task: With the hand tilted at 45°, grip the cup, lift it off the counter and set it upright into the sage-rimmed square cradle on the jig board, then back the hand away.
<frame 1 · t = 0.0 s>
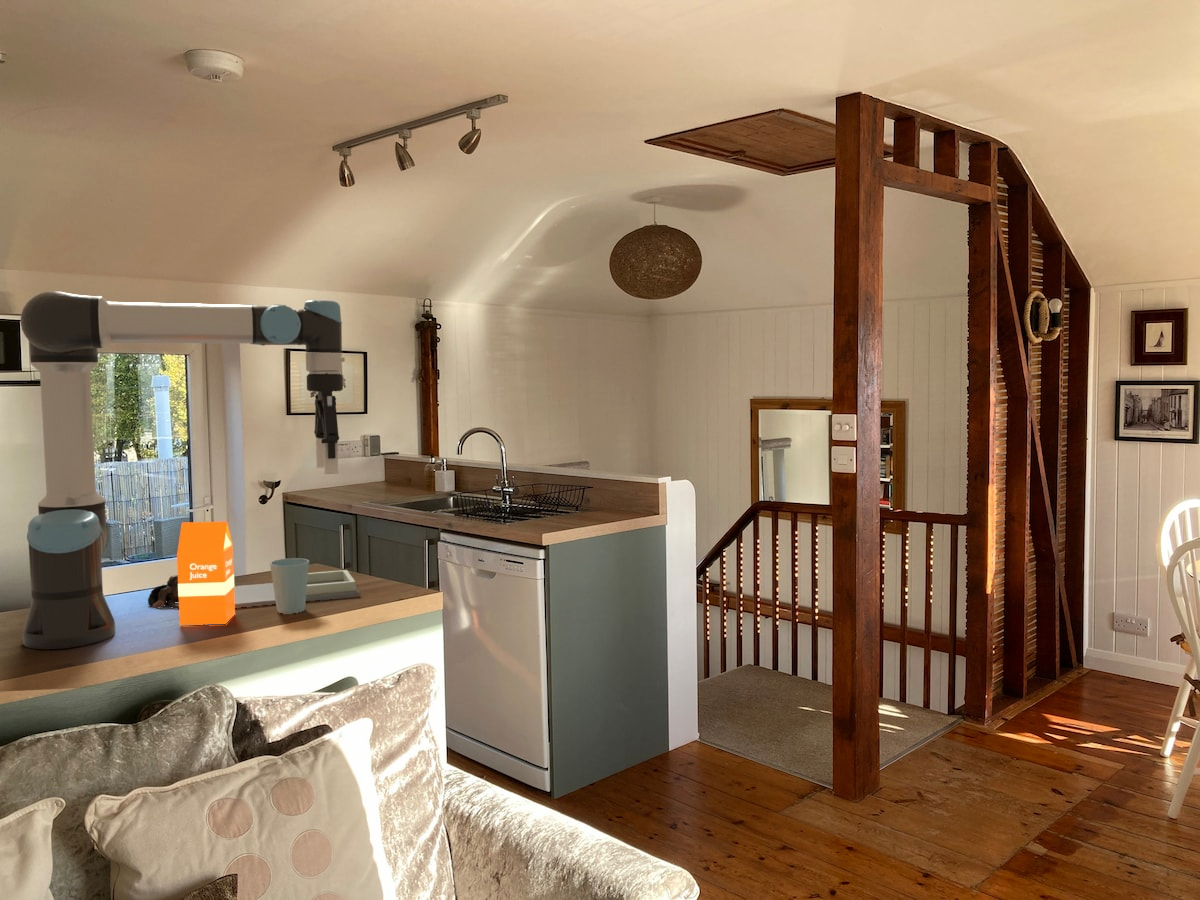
hand: (327, 470, 206), 28 cm above the counter, tool pointing down, fingers open, 13 cm apart
cup: (291, 611, 197), on the counter
jig board: (294, 593, 211), on the counter
orange juice: (208, 621, 190), on the counter
stuffed animal: (176, 604, 205), on the counter
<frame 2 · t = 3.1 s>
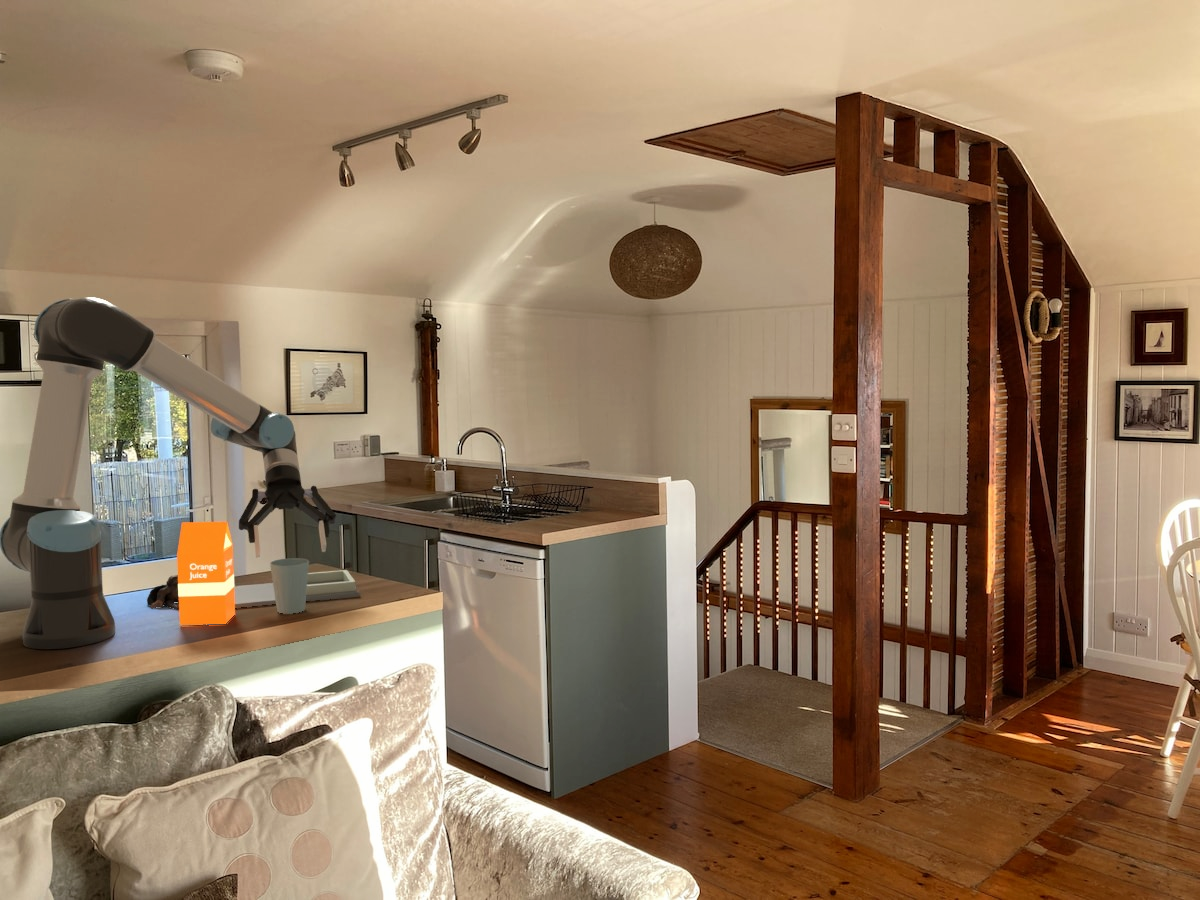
hand: (291, 551, 203), 11 cm above the counter, tool tilted 45°, fingers open, 13 cm apart
nothing on the counter moved.
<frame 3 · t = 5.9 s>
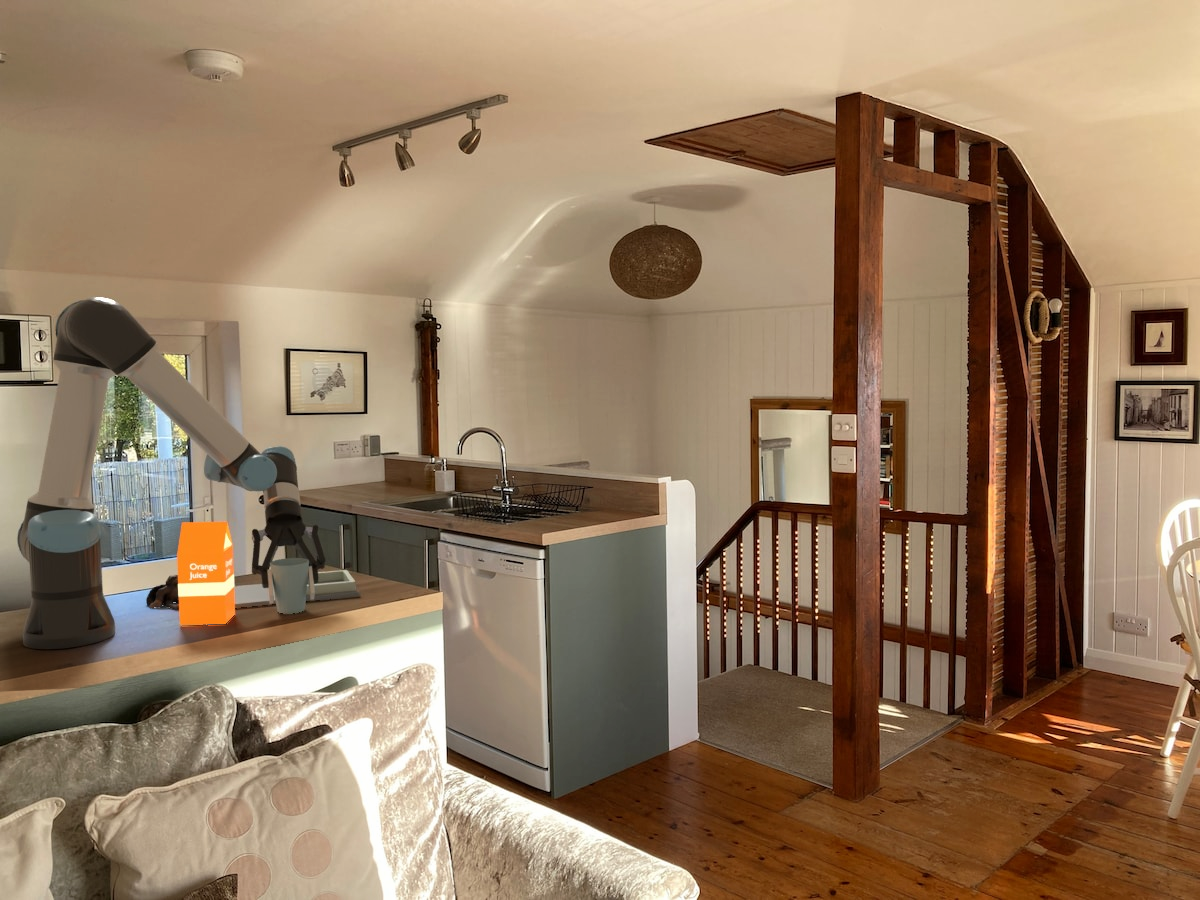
hand: (292, 597, 193), 4 cm above the counter, tool tilted 45°, fingers closed on cup, 7 cm apart
cup: (291, 611, 197), on the counter, touching gripper
everything else where it was.
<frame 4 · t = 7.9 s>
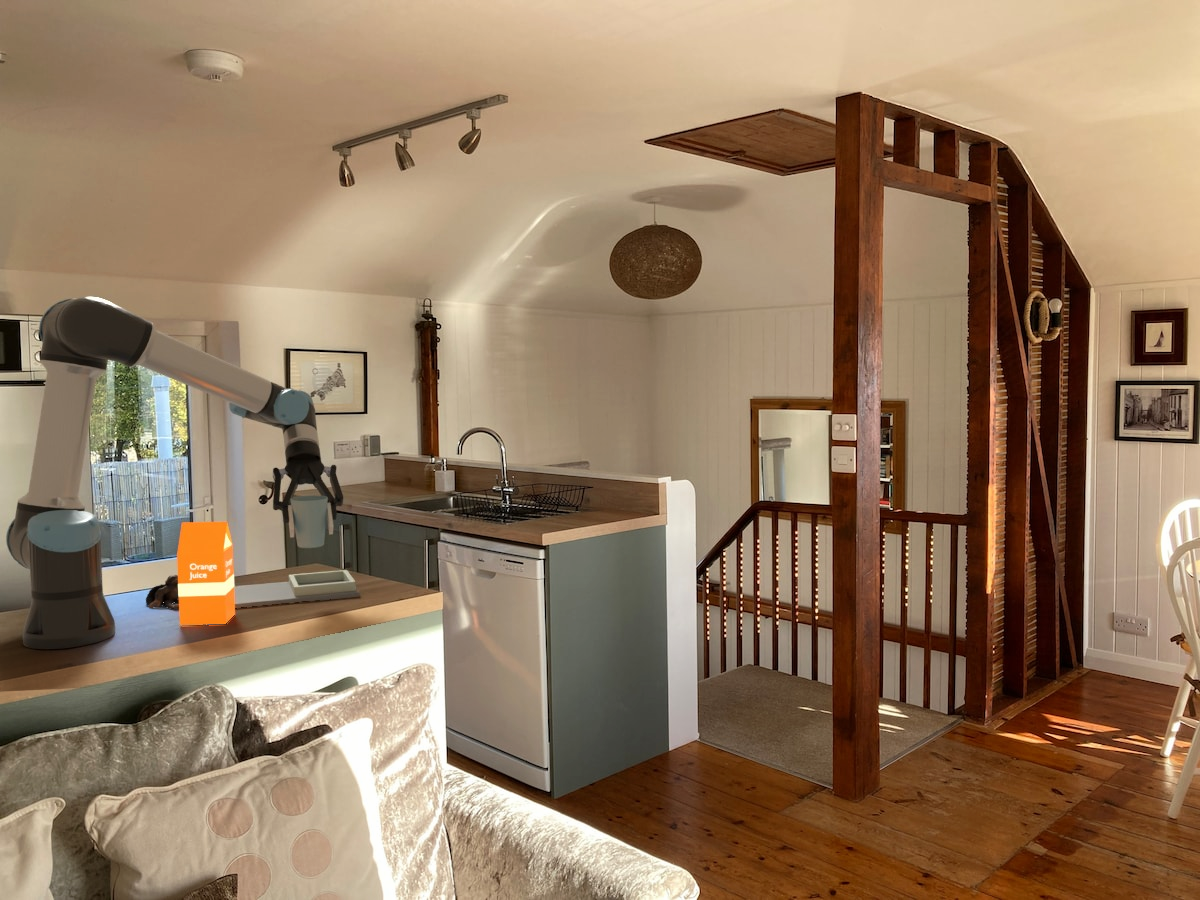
hand: (312, 532, 201), 16 cm above the counter, tool tilted 45°, fingers closed on cup, 7 cm apart
cup: (310, 546, 205), point 12 cm above the counter, touching gripper
everything else where it was.
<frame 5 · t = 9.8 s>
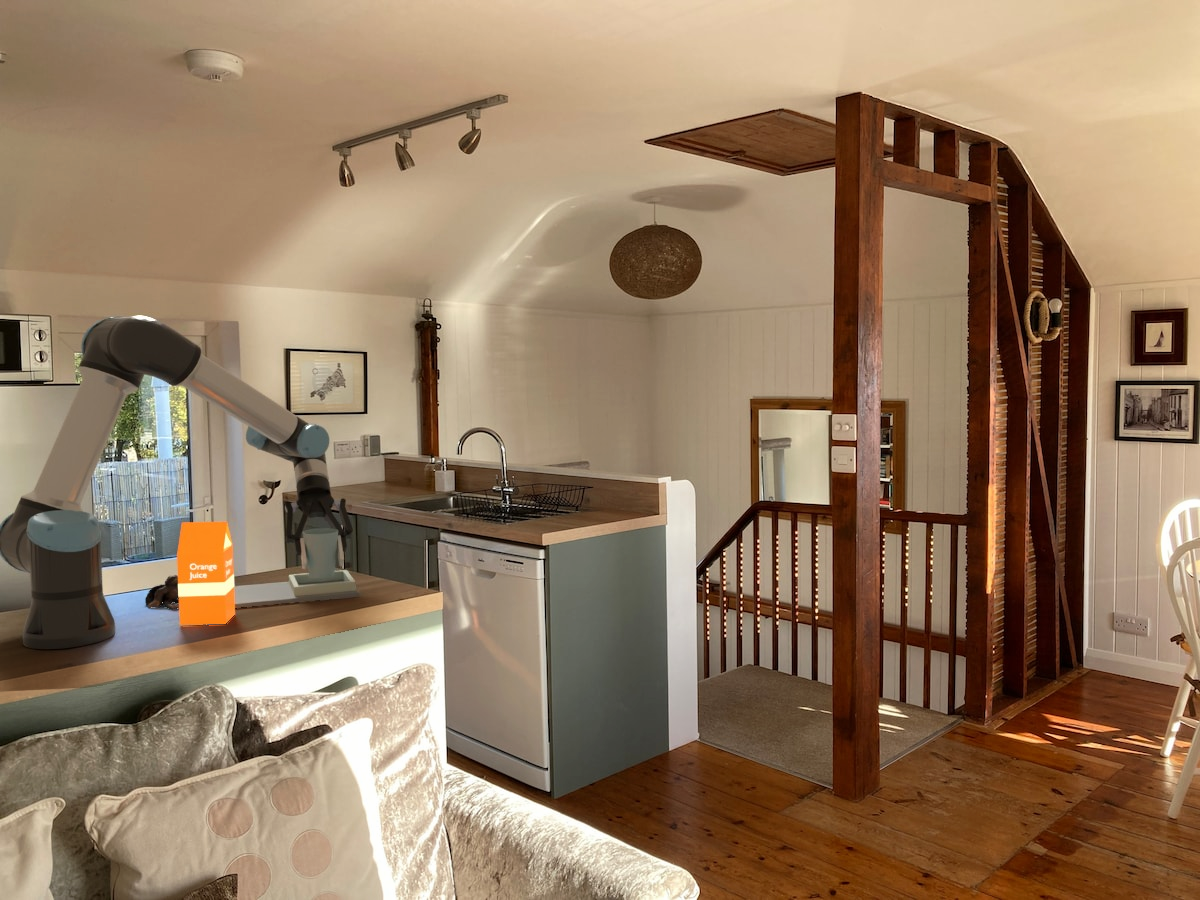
hand: (323, 564, 210), 7 cm above the counter, tool tilted 45°, fingers closed on cup, 7 cm apart
cup: (321, 577, 214), point 3 cm above the counter, touching gripper
everything else where it was.
when the fingers open (6 cm above the counter, at t = 10.4 s): cup drops 1 cm, resting on jig board.
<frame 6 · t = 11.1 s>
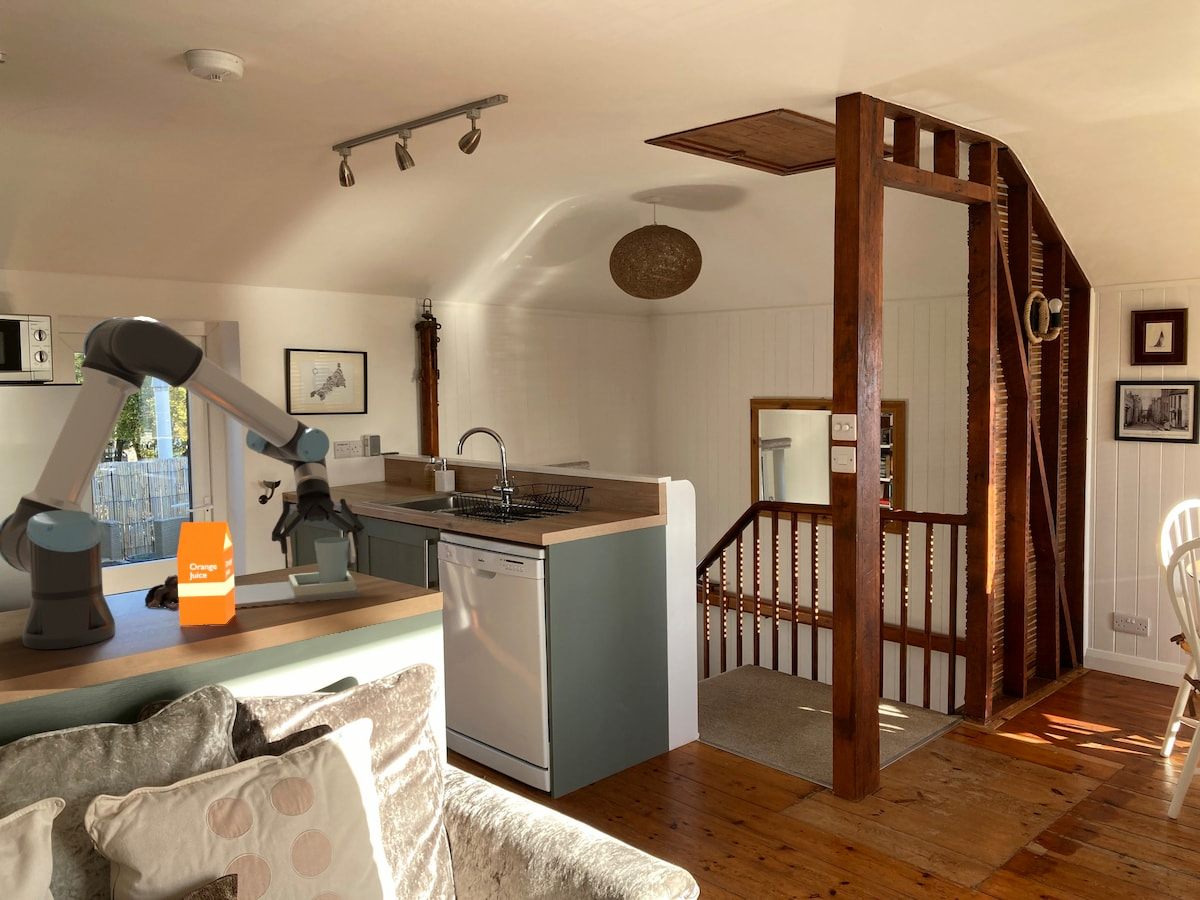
hand: (322, 561, 211), 7 cm above the counter, tool tilted 45°, fingers open, 13 cm apart
cup: (333, 585, 215), point 1 cm above the counter, touching gripper, jig board
everything else where it was.
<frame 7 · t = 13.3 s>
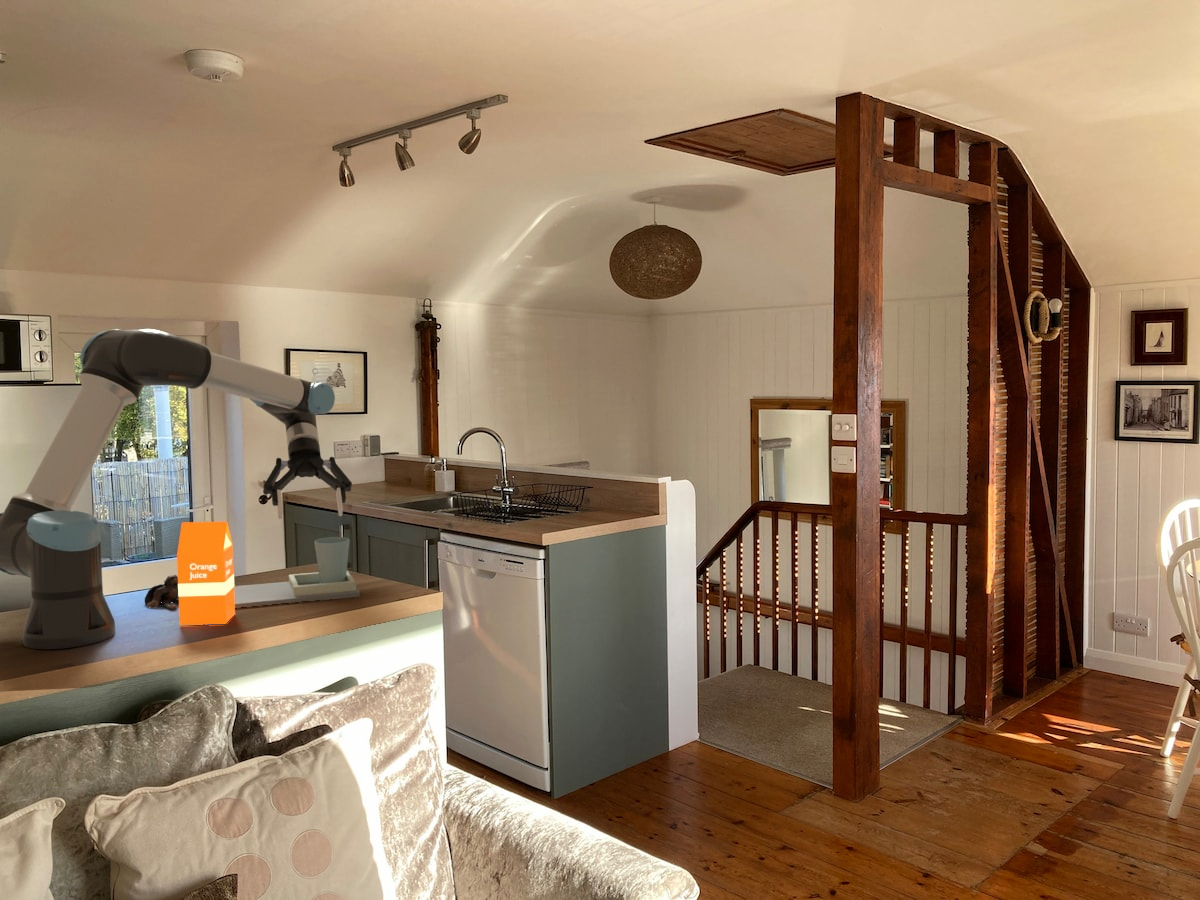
hand: (311, 514, 221), 16 cm above the counter, tool tilted 45°, fingers open, 13 cm apart
cup: (333, 585, 215), point 1 cm above the counter, touching jig board
everything else where it was.
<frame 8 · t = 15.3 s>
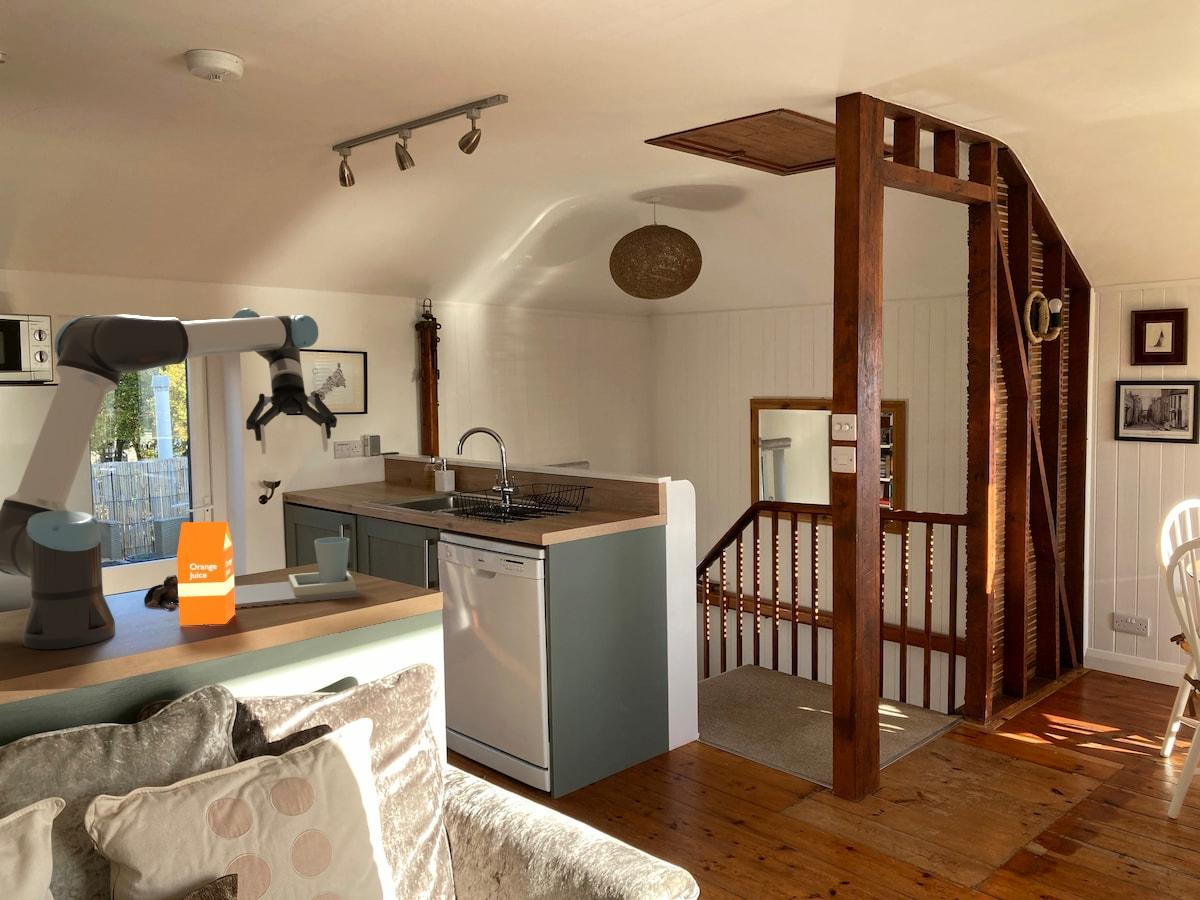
hand: (295, 449, 217), 32 cm above the counter, tool tilted 45°, fingers open, 13 cm apart
nothing on the counter moved.
at the end: cup 2.7 cm from the target spot on the jig board, point 0.8 cm above the jig board's base; cup tilted 0°; the gripper is holding nothing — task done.
